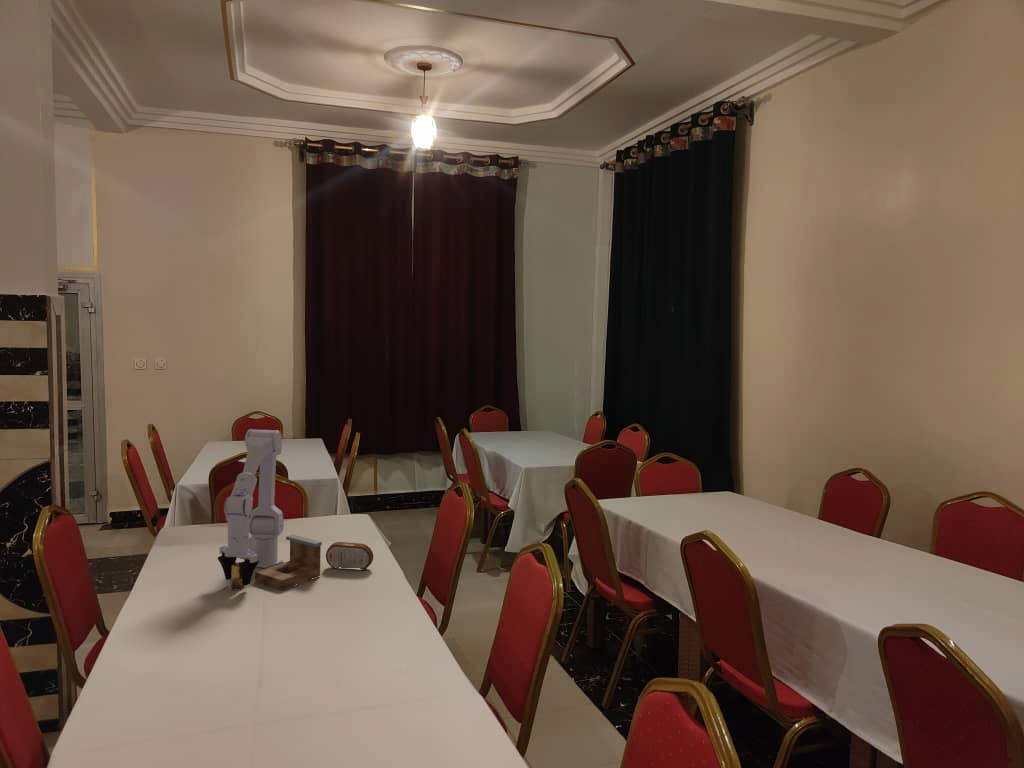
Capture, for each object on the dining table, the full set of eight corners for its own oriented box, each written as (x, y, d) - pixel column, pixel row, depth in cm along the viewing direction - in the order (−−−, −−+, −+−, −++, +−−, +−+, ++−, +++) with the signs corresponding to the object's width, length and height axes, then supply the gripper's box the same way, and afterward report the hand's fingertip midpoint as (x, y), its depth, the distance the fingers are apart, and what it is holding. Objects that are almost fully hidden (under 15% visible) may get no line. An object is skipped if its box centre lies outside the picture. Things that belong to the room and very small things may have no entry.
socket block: (253, 581, 212) (254, 545, 211) (292, 568, 224) (292, 534, 223) (283, 590, 205) (284, 553, 204) (321, 576, 217) (321, 541, 217)
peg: (228, 588, 206) (228, 564, 205) (239, 584, 209) (239, 561, 208) (236, 590, 204) (236, 567, 203) (247, 587, 207) (247, 563, 206)
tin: (373, 569, 226) (373, 543, 226) (370, 572, 223) (370, 546, 223) (327, 566, 228) (328, 540, 227) (324, 569, 225) (324, 543, 224)
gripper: (210, 534, 205) (210, 580, 206) (243, 544, 198) (242, 591, 199) (231, 529, 211) (230, 573, 212) (263, 538, 204) (263, 584, 205)
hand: (237, 581), depth 206 cm, fingers open, 7 cm apart
